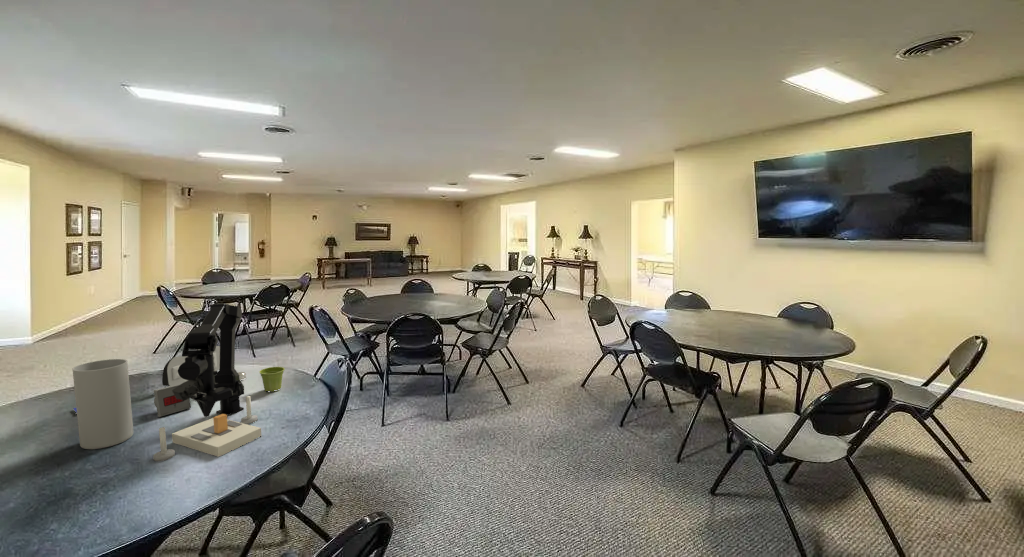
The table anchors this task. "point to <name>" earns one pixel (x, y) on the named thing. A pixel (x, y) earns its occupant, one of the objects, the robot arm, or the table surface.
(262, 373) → the plant pot
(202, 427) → the breaker board
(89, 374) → the cylinder vase
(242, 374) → the metal grooved wheel
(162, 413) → the voltmeter
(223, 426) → the switch
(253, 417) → the cable post
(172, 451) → the cable post
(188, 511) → the table surface
